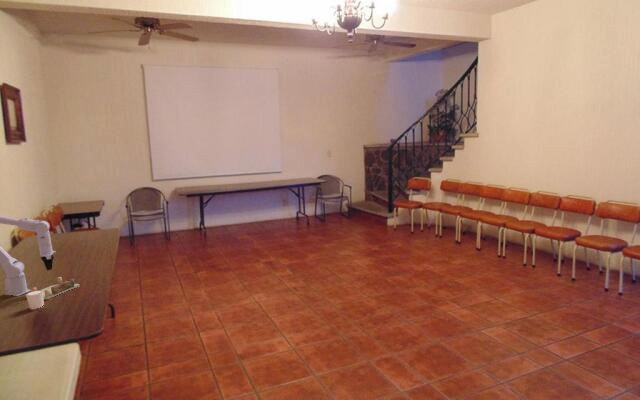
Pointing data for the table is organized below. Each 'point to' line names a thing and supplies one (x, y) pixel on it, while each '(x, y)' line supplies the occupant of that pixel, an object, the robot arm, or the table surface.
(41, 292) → the shot glass
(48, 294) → the seat
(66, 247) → the table surface
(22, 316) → the table surface
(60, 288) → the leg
